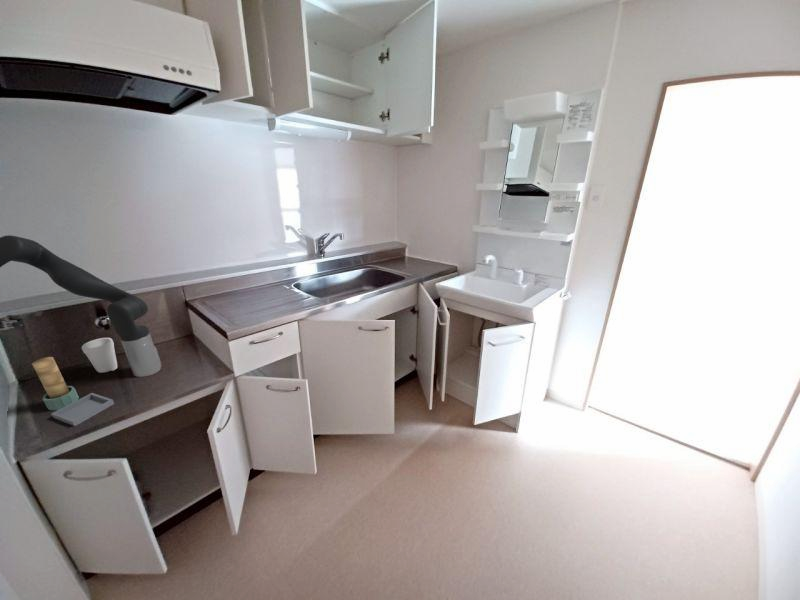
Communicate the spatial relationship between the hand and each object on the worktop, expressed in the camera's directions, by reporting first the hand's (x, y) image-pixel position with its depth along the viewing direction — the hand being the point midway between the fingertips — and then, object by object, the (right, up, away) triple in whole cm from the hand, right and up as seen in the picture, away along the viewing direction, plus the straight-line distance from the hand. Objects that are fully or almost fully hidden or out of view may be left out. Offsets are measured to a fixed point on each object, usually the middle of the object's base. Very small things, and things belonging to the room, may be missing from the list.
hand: (5, 333), depth 103 cm
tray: (+20, -29, +6) cm, 36 cm away
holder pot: (+9, -27, +10) cm, 30 cm away
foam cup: (+6, -19, +30) cm, 36 cm away
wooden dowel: (+9, -27, +10) cm, 30 cm away
